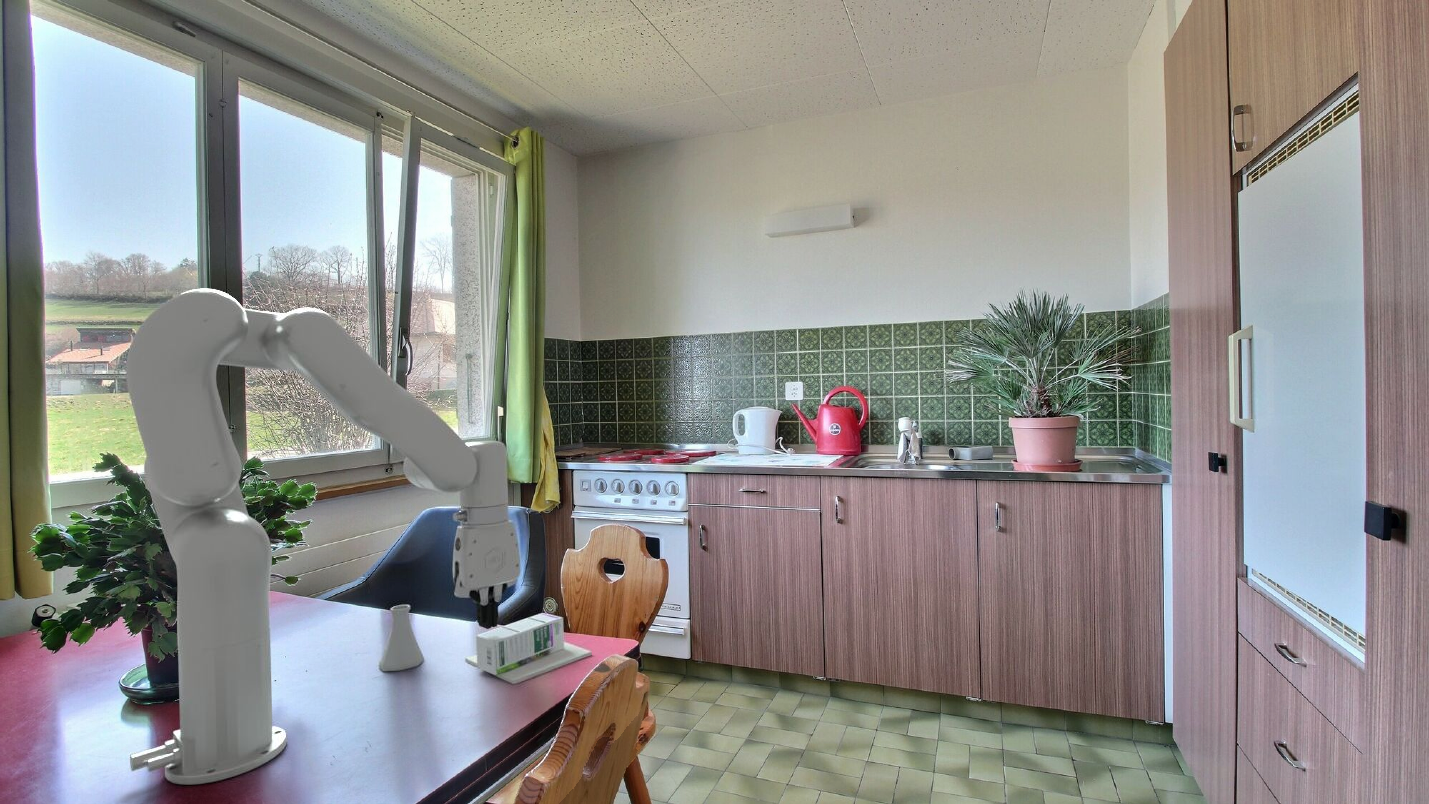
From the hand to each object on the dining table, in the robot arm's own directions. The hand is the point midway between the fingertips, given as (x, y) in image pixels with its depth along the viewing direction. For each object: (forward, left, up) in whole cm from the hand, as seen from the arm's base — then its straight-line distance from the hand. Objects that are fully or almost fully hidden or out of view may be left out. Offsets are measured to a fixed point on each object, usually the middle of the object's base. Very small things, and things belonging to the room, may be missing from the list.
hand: (487, 626), depth 109 cm
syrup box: (-1, 0, -5) cm, 5 cm away
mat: (+8, +1, -8) cm, 12 cm away
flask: (-7, +17, -8) cm, 20 cm away
